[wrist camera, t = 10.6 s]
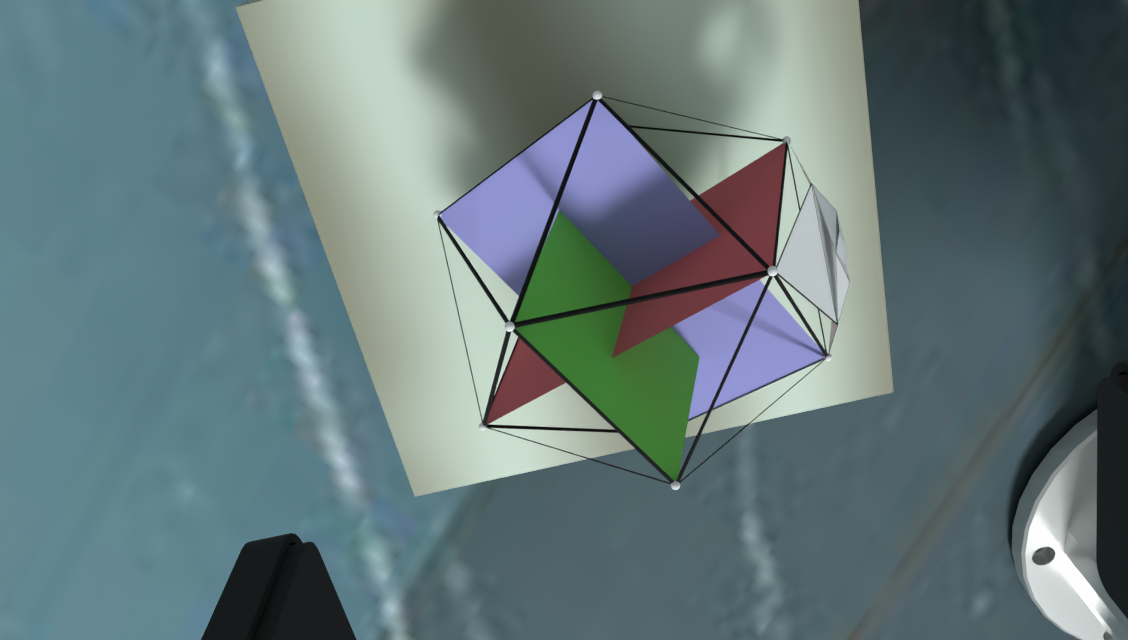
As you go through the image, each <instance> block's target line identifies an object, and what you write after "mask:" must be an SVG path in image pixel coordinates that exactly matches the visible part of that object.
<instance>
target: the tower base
mask: <svg viewBox="0 0 1128 640" xmlns="http://www.w3.org/2000/svg"><path fill="white" fill-rule="evenodd" d="M236 9H237V12H238V15H239V18H240V20H241V23H242V26H243V29H244V31H245V34H246V37H247V39H248V42H249V45H250V48H251V50H252V53H253V56H254V59H255V61H256V64H257V67H258V70H259V72H260V75H261V78H262V80H263V83H264V86H265V89H266V91H267V94H268V97H269V100H270V102H271V105H272V108H273V110H274V113H275V116H276V119H277V121H278V124H279V127H280V130H281V132H282V135H283V138H284V140H285V143H286V146H287V149H288V151H289V154H290V157H291V160H292V162H293V165H294V168H295V170H296V173H297V176H298V179H299V181H300V184H301V187H302V190H303V192H304V195H305V198H306V201H307V203H308V206H309V209H310V211H311V214H312V217H313V220H314V222H315V225H316V228H317V231H318V233H319V236H320V239H321V241H322V244H323V247H324V250H325V252H326V255H327V258H328V261H329V263H330V266H331V269H332V271H333V274H334V277H335V280H336V282H337V285H338V288H339V291H340V293H341V296H342V299H343V301H344V304H345V307H346V310H347V312H348V315H349V318H350V321H351V323H352V326H353V329H354V331H355V334H356V337H357V340H358V342H359V345H360V348H361V351H362V353H363V356H364V359H365V362H366V364H367V367H368V370H369V372H370V375H371V378H372V381H373V383H374V386H375V389H376V392H377V394H378V397H379V400H380V402H381V405H382V408H383V411H384V413H385V416H386V419H387V422H388V424H389V427H390V430H391V432H392V435H393V438H394V441H395V443H396V446H397V449H398V452H399V454H400V457H401V460H402V462H403V465H404V468H405V471H406V473H407V476H408V479H409V482H410V484H411V487H412V490H413V493H414V495H415V496H420V495H424V494H429V493H433V492H438V491H443V490H447V489H452V488H456V487H461V486H466V485H470V484H475V483H479V482H484V481H488V480H493V479H498V478H502V477H507V476H511V475H516V474H521V473H525V472H530V471H534V470H539V469H543V468H548V467H553V466H557V465H562V464H566V463H571V462H576V461H580V460H585V459H586V458H583V457H580V456H576V455H573V454H570V453H567V452H571V453H574V454H577V455H581V456H584V457H587V458H594V457H598V456H603V455H608V454H612V453H617V452H621V451H626V450H631V449H635V448H634V447H633V446H632V445H631V444H630V443H629V442H628V441H627V440H626V439H624V438H623V437H622V436H621V435H620V434H619V433H608V432H582V431H556V430H531V429H505V428H492V429H495V430H499V431H502V432H505V433H508V434H512V435H515V436H518V437H522V438H525V439H528V440H531V441H535V442H538V443H541V444H544V445H548V446H551V447H554V448H558V449H561V450H564V451H567V452H563V451H560V450H557V449H554V448H550V447H547V446H544V445H540V444H537V443H534V442H531V441H527V440H524V439H521V438H518V437H514V436H511V435H508V434H504V433H501V432H498V431H495V430H491V429H488V428H486V429H485V430H483V431H482V430H480V429H479V424H480V423H482V420H483V418H484V414H485V410H486V407H487V403H488V399H489V395H490V391H491V388H492V384H493V380H494V376H495V372H496V368H497V365H498V361H499V357H500V353H501V349H502V345H503V342H504V338H505V334H506V330H505V324H506V323H505V322H504V320H503V319H502V317H501V316H500V314H499V313H498V311H497V310H496V308H495V307H494V305H493V304H492V302H491V301H490V299H489V298H488V296H487V295H486V293H485V291H484V290H483V288H482V287H481V285H480V284H479V282H478V281H477V279H476V278H475V276H474V275H473V273H472V272H471V270H470V269H469V267H468V266H467V264H466V262H465V261H464V259H463V258H462V256H461V255H460V253H459V252H458V250H457V249H456V247H455V246H454V244H453V243H452V241H451V240H450V238H449V237H448V235H447V234H446V232H445V230H444V229H443V227H442V226H441V224H440V223H439V225H440V229H441V234H442V238H443V243H444V247H445V252H446V257H447V261H448V266H449V270H450V275H451V279H452V284H453V288H454V293H455V297H456V302H457V306H458V311H459V315H460V320H461V325H462V329H463V334H464V338H465V343H466V347H467V352H468V356H469V361H470V365H471V370H472V374H473V379H474V383H475V388H476V392H477V397H478V402H479V406H480V411H481V415H482V420H481V416H480V411H479V407H478V402H477V398H476V393H475V389H474V384H473V380H472V375H471V371H470V366H469V361H468V357H467V352H466V348H465V343H464V339H463V334H462V330H461V325H460V321H459V316H458V312H457V307H456V303H455V298H454V294H453V289H452V285H451V280H450V275H449V271H448V266H447V262H446V257H445V253H444V248H443V244H442V239H441V235H440V230H439V226H438V221H437V218H435V217H434V212H435V211H436V210H439V211H443V210H444V209H445V208H447V207H448V206H449V205H451V204H452V203H453V202H455V201H456V200H457V199H459V198H460V197H461V196H463V195H464V194H465V193H467V192H468V191H469V190H471V189H472V188H473V187H475V186H476V185H477V184H478V183H480V182H481V181H482V180H484V179H485V178H486V177H488V176H489V175H490V174H492V173H493V172H494V171H496V170H497V169H498V168H500V167H501V166H502V165H504V164H505V163H506V162H508V161H509V160H510V159H512V158H513V157H514V156H516V155H517V154H518V153H520V152H521V151H522V150H524V149H525V148H526V147H528V146H529V145H530V144H532V143H533V142H534V141H536V140H537V139H538V138H540V137H541V136H542V135H544V134H545V133H546V132H548V131H549V130H550V129H552V128H553V127H554V126H555V125H557V124H558V123H559V122H561V121H562V120H563V119H565V118H566V117H567V116H569V115H570V114H571V113H573V112H574V111H575V110H577V109H578V108H579V107H581V106H582V105H583V104H585V103H586V102H587V101H589V100H590V99H591V98H593V93H594V92H595V91H600V92H601V93H602V96H604V97H609V98H613V99H617V100H621V101H625V102H629V103H634V104H638V105H642V106H646V107H650V108H655V109H659V110H663V111H667V112H671V113H675V114H680V115H684V116H688V117H692V118H696V119H701V120H705V121H709V122H713V123H717V124H721V125H726V126H730V127H734V128H738V129H742V130H747V131H751V132H755V133H759V134H763V135H767V136H772V137H776V138H780V139H783V138H784V137H786V136H788V137H790V139H791V142H790V144H788V146H789V151H790V156H791V162H792V167H793V172H794V178H795V183H796V189H797V194H798V199H799V205H800V208H801V206H802V203H803V201H804V198H805V196H806V194H807V191H808V189H809V187H810V184H809V182H808V180H807V178H806V176H805V174H804V172H803V170H802V168H801V166H800V164H801V165H802V167H803V169H804V171H805V172H806V174H807V176H808V178H809V180H810V181H811V183H812V184H813V185H814V186H815V187H816V188H817V190H818V191H819V192H820V193H821V194H822V195H823V196H824V197H825V198H826V200H827V201H828V202H829V203H830V204H831V205H832V206H833V207H834V208H835V209H836V211H837V214H838V217H839V221H840V225H841V228H842V232H843V236H844V239H845V243H846V247H847V258H848V268H849V279H850V283H849V287H848V291H847V294H846V298H845V301H844V305H843V309H842V312H841V316H840V319H839V323H838V327H837V330H836V333H835V336H834V340H833V343H832V346H831V349H830V354H831V355H832V359H831V360H830V361H825V360H824V361H823V362H822V361H820V362H818V363H816V364H814V365H812V366H809V367H807V368H805V369H803V370H800V371H798V372H796V373H794V374H792V375H789V376H787V377H785V378H783V379H781V380H778V381H776V382H774V383H772V384H770V385H767V386H765V387H763V388H761V389H759V390H756V391H754V392H752V393H750V394H748V395H745V396H743V397H741V398H739V399H737V400H734V401H732V402H730V403H728V404H726V405H723V406H721V407H719V408H717V409H715V410H712V411H711V414H710V416H709V418H708V420H707V422H706V425H705V427H704V429H703V431H702V433H701V434H704V433H708V432H713V431H718V430H722V429H727V428H731V427H736V426H741V425H745V424H748V423H750V422H751V421H752V420H753V419H754V418H756V417H757V416H758V415H759V414H760V413H761V412H763V411H764V410H765V409H766V408H767V407H769V406H770V405H771V404H772V403H773V402H774V401H776V400H777V399H778V398H779V397H780V396H782V395H783V394H784V393H785V392H786V391H787V390H789V389H790V388H791V387H792V386H793V385H795V384H796V383H797V382H798V381H799V380H800V379H802V378H803V377H804V376H805V375H806V374H808V373H809V372H810V371H811V370H812V369H813V368H815V367H816V366H817V365H818V364H819V363H821V362H822V363H821V364H820V365H819V366H817V367H816V368H815V369H814V370H813V371H811V372H810V373H809V374H808V375H807V376H806V377H804V378H803V379H802V380H801V381H800V382H798V383H797V384H796V385H795V386H794V387H793V388H791V389H790V390H789V391H788V392H787V393H785V394H784V395H783V396H782V397H781V398H780V399H778V400H777V401H776V402H775V403H774V404H772V405H771V406H770V407H769V408H768V409H767V410H765V411H764V412H763V413H762V414H761V415H759V416H758V417H757V418H756V419H755V420H754V421H752V422H751V423H754V422H759V421H763V420H768V419H773V418H777V417H782V416H786V415H791V414H795V413H800V412H805V411H809V410H814V409H818V408H823V407H828V406H832V405H837V404H841V403H846V402H850V401H855V400H860V399H864V398H869V397H873V396H878V395H883V394H887V393H892V392H893V382H892V370H891V359H890V348H889V337H888V326H887V315H886V303H885V292H884V281H883V270H882V259H881V248H880V236H879V225H878V214H877V203H876V192H875V181H874V170H873V158H872V147H871V136H870V125H869V114H868V103H867V91H866V80H865V69H864V58H863V47H862V36H861V24H860V13H859V2H858V0H249V1H247V2H245V3H243V4H241V5H239V6H237V7H236ZM604 97H602V99H603V100H604V101H605V102H606V103H607V104H608V105H609V106H610V107H611V108H612V109H613V110H614V111H615V112H616V113H617V114H618V115H619V116H620V117H621V118H622V119H623V120H624V121H625V122H626V123H627V124H628V125H632V126H643V127H653V128H664V129H675V130H686V131H697V132H707V133H718V134H729V135H740V136H751V137H761V138H772V137H767V136H763V135H759V134H755V133H751V132H746V131H742V130H738V129H734V128H730V127H725V126H721V125H717V124H713V123H709V122H704V121H700V120H696V119H692V118H688V117H684V116H679V115H675V114H671V113H667V112H663V111H658V110H654V109H650V108H646V107H642V106H637V105H633V104H629V103H625V102H621V101H616V100H612V99H608V98H604ZM632 129H633V130H634V131H635V132H636V133H637V134H638V135H639V136H640V137H641V138H642V139H643V140H644V141H645V142H646V143H647V144H648V145H649V146H650V147H651V148H652V149H653V150H654V151H655V152H656V153H657V154H658V155H659V156H660V157H661V158H662V159H663V160H664V161H665V162H666V163H667V164H668V165H669V166H670V167H671V168H672V169H673V170H674V171H675V172H676V173H677V174H678V175H679V176H680V177H681V178H682V179H683V180H684V181H685V182H686V183H687V184H688V185H689V186H690V187H691V188H692V189H693V190H694V191H695V192H696V193H697V194H698V195H700V194H702V193H703V192H705V191H707V190H708V189H710V188H711V187H713V186H715V185H716V184H718V183H719V182H721V181H723V180H724V179H726V178H727V177H729V176H731V175H732V174H734V173H736V172H737V171H739V170H740V169H742V168H744V167H745V166H747V165H748V164H750V163H752V162H753V161H755V160H757V159H758V158H760V157H761V156H763V155H765V154H766V153H768V152H769V151H771V150H773V149H774V148H776V147H777V146H779V145H781V144H782V143H783V142H778V141H767V140H757V139H746V138H736V137H725V136H714V135H704V134H693V133H682V132H672V131H661V130H651V129H640V128H632ZM633 137H634V136H633ZM634 138H635V137H634ZM776 138H772V139H776ZM635 139H636V138H635ZM636 140H637V139H636ZM637 141H638V140H637ZM638 142H639V141H638ZM639 143H640V142H639ZM640 145H641V146H642V147H643V148H644V149H645V150H646V151H647V152H648V154H649V155H650V156H651V157H652V158H653V159H654V160H655V162H656V163H657V164H658V165H659V166H660V167H661V168H662V170H663V171H664V172H665V173H666V174H667V175H668V176H669V177H670V179H671V180H672V181H673V182H674V183H675V184H676V185H677V187H678V188H679V189H680V190H681V191H682V192H683V193H684V194H685V196H686V197H687V198H688V199H689V200H692V199H694V198H695V197H694V196H693V195H692V194H691V193H690V192H689V191H688V190H687V189H686V188H685V187H684V186H683V185H682V184H681V183H680V182H679V181H678V180H677V179H676V178H675V177H674V176H673V175H672V174H671V173H670V172H669V171H668V170H667V169H666V168H665V167H664V166H663V165H662V164H661V163H660V162H659V161H658V160H657V159H656V158H655V157H654V156H653V155H652V154H651V153H650V152H649V151H648V150H647V149H646V148H645V147H644V146H643V145H642V144H641V143H640ZM791 147H792V148H791ZM792 149H793V150H792ZM793 151H794V152H793ZM794 153H795V154H794ZM795 155H796V156H797V158H798V160H799V162H800V164H799V162H798V160H797V158H796V156H795ZM798 213H799V207H798V202H797V196H796V191H795V186H794V180H793V175H792V170H791V164H790V159H789V153H788V151H787V160H786V170H785V180H784V190H783V200H782V209H781V219H780V229H779V239H778V249H777V258H776V266H777V263H778V261H779V258H780V256H781V254H782V251H783V249H784V246H785V244H786V242H787V239H788V237H789V234H790V232H791V230H792V227H793V225H794V222H795V220H796V218H797V215H798ZM447 228H448V229H449V231H450V232H451V234H452V235H453V237H454V238H455V240H456V241H457V243H458V244H459V246H460V247H461V249H462V250H463V252H464V253H465V255H466V256H467V258H468V259H469V261H470V262H471V264H472V265H473V267H474V268H475V270H476V271H477V273H478V274H479V276H480V277H481V279H482V280H483V282H484V283H485V285H486V286H487V288H488V289H489V291H490V292H491V294H492V295H493V297H494V298H495V300H496V301H497V303H498V304H499V306H500V307H501V309H502V310H503V312H504V313H505V315H506V316H507V318H508V319H509V321H510V319H511V316H512V314H513V311H514V308H515V306H516V303H517V300H518V298H519V296H518V295H517V294H516V293H515V292H514V291H513V290H512V289H511V288H510V287H509V286H508V285H507V284H506V283H505V282H504V281H503V280H502V279H501V278H500V277H499V276H498V275H497V274H496V273H495V272H494V271H493V270H492V269H491V268H490V267H489V266H488V265H487V264H485V263H484V262H483V261H482V260H481V259H480V258H479V257H478V256H477V255H476V254H475V253H474V252H473V251H472V250H471V249H470V248H469V247H468V246H467V245H466V244H465V243H464V242H463V241H462V240H461V239H460V238H459V237H458V236H457V235H456V234H455V233H454V232H453V231H452V230H451V229H450V228H449V227H447ZM768 278H769V276H765V277H764V278H762V279H760V281H761V282H762V283H763V284H764V285H765V284H766V282H767V280H768ZM779 278H780V277H779ZM780 280H781V281H782V283H783V284H784V286H785V287H786V289H787V291H788V292H789V294H790V295H791V297H792V299H793V300H794V302H795V303H796V305H797V306H798V308H799V310H800V311H801V313H802V314H803V316H804V318H805V319H806V321H807V322H808V324H809V325H810V327H811V329H812V330H813V332H814V333H815V335H816V337H817V338H818V340H819V341H820V343H821V344H822V346H823V348H824V349H825V346H824V341H823V335H822V330H821V325H820V319H819V314H818V309H817V308H816V307H815V306H814V305H812V304H811V303H810V302H809V301H808V300H806V299H805V298H804V297H803V296H802V295H801V294H799V293H798V292H797V291H796V290H795V289H793V288H792V287H791V286H790V285H789V284H787V283H786V282H785V281H784V280H783V279H781V278H780ZM768 290H769V291H770V292H771V293H772V294H773V295H774V297H775V298H776V299H777V300H778V301H779V302H780V303H781V305H782V306H783V307H784V308H785V309H786V310H787V311H788V313H789V314H790V315H791V316H792V317H793V318H794V319H795V320H796V322H797V323H798V324H799V325H800V326H801V327H802V328H803V330H804V331H805V332H806V333H807V334H808V335H809V336H810V337H811V339H812V340H813V341H814V342H815V340H814V339H813V337H812V336H811V334H810V332H809V331H808V329H807V328H806V326H805V325H804V323H803V322H802V320H801V318H800V317H799V315H798V314H797V312H796V311H795V309H794V308H793V306H792V304H791V303H790V301H789V300H788V298H787V297H786V295H785V294H784V292H783V290H782V289H781V287H780V286H779V284H778V283H777V281H776V280H775V278H774V276H773V278H772V280H771V282H770V284H769V287H768ZM819 312H820V317H821V322H822V328H823V333H824V338H825V344H826V349H827V353H829V343H830V333H831V322H832V321H831V320H830V319H829V318H828V317H827V316H826V315H824V314H823V313H822V312H821V311H820V310H819ZM517 338H518V336H517V335H516V334H515V333H514V332H512V331H511V335H510V339H509V342H508V346H507V350H506V353H505V357H504V361H503V364H502V368H501V372H500V375H499V379H498V383H497V386H496V390H497V387H498V385H499V383H500V380H501V378H502V375H503V373H504V370H505V368H506V365H507V363H508V360H509V358H510V356H511V353H512V351H513V348H514V346H515V343H516V341H517ZM815 343H816V342H815ZM816 344H817V343H816ZM818 347H819V346H818ZM496 390H495V392H496ZM494 395H495V394H494ZM706 414H707V413H706ZM706 414H704V415H701V416H699V417H697V418H695V419H693V420H690V421H688V424H687V429H686V435H685V438H686V437H690V436H695V435H697V434H698V432H699V429H700V427H701V425H702V423H703V421H704V418H705V416H706ZM489 424H491V425H515V426H540V427H564V428H589V429H613V430H615V429H614V428H613V427H612V426H611V425H610V424H609V423H608V422H607V421H606V420H605V419H604V418H602V417H601V416H600V415H599V414H598V413H597V412H596V411H595V410H594V409H593V408H592V407H591V406H590V405H589V404H588V403H587V402H586V401H585V400H584V399H583V398H582V397H580V396H579V395H578V394H577V393H576V392H575V391H574V390H573V389H572V388H571V387H570V386H569V385H568V384H567V383H565V384H563V385H561V386H559V387H557V388H555V389H553V390H551V391H549V392H548V393H546V394H544V395H542V396H540V397H538V398H536V399H534V400H533V401H531V402H529V403H527V404H525V405H523V406H521V407H519V408H518V409H516V410H514V411H512V412H510V413H508V414H506V415H504V416H503V417H501V418H499V419H497V420H495V421H493V422H491V423H489Z"/></svg>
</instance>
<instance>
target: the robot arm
mask: <svg viewBox="0 0 1128 640" xmlns="http://www.w3.org/2000/svg"><path fill="white" fill-rule="evenodd" d="M1012 555H1013V559H1014V564H1015V568H1016V573H1017V575H1018V577H1019V579H1020V581H1021V582H1022V584H1023V586H1024V588H1025V590H1026V592H1027V594H1028V595H1029V596H1030V598H1031V599H1032V600H1033V602H1034V603H1035V604H1036V605H1037V607H1038V608H1039V609H1040V611H1041V612H1042V614H1043V615H1044V616H1045V617H1046V618H1047V619H1048V620H1050V621H1051V622H1052V623H1053V624H1055V625H1056V626H1057V627H1058V628H1059V629H1061V630H1062V631H1064V632H1066V633H1068V634H1070V635H1072V636H1074V637H1076V638H1078V639H1080V640H1128V361H1124V362H1119V363H1117V364H1116V365H1115V366H1114V367H1113V369H1112V371H1111V376H1110V377H1109V378H1105V379H1103V380H1101V381H1100V383H1099V385H1098V392H1097V409H1096V410H1095V411H1094V412H1092V413H1091V414H1089V415H1088V416H1087V417H1085V418H1084V419H1083V420H1081V421H1080V422H1079V423H1077V424H1076V425H1075V426H1074V427H1073V428H1072V429H1071V430H1070V431H1069V432H1068V433H1067V434H1066V435H1065V436H1064V437H1063V438H1062V439H1061V440H1060V441H1059V442H1058V443H1057V444H1056V445H1055V446H1054V447H1053V448H1052V449H1051V450H1050V451H1049V452H1048V454H1047V455H1046V457H1045V458H1044V459H1043V461H1042V462H1041V463H1040V465H1039V466H1038V467H1037V469H1036V470H1035V472H1034V473H1033V474H1032V476H1031V478H1030V480H1029V482H1028V484H1027V486H1026V488H1025V490H1024V492H1023V494H1022V496H1021V498H1020V500H1019V504H1018V508H1017V511H1016V515H1015V519H1014V523H1013V526H1012ZM201 640H356V638H355V635H354V633H353V631H352V628H351V626H350V624H349V621H348V619H347V617H346V614H345V612H344V609H343V607H342V605H341V602H340V600H339V598H338V595H337V593H336V591H335V588H334V586H333V583H332V581H331V579H330V576H329V574H328V572H327V569H326V567H325V564H324V562H323V560H322V557H321V555H320V553H319V550H318V549H317V547H316V545H315V544H314V543H313V542H306V543H302V541H301V539H300V538H299V537H298V536H297V535H296V534H293V533H290V534H285V535H280V536H275V537H270V538H266V539H261V540H256V541H251V542H248V543H246V544H245V545H244V547H243V548H242V550H241V552H240V554H239V557H238V559H237V561H236V563H235V566H234V568H233V570H232V572H231V574H230V577H229V579H228V581H227V583H226V586H225V588H224V590H223V592H222V595H221V597H220V599H219V601H218V603H217V606H216V608H215V610H214V612H213V615H212V617H211V619H210V621H209V624H208V626H207V628H206V630H205V632H204V635H203V637H202V639H201Z"/></svg>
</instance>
